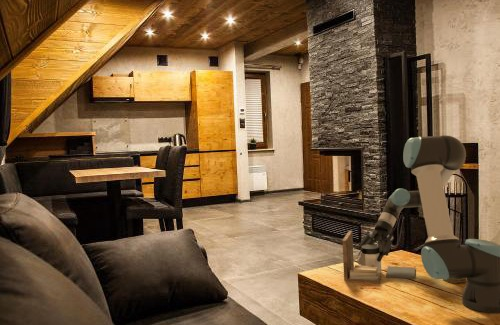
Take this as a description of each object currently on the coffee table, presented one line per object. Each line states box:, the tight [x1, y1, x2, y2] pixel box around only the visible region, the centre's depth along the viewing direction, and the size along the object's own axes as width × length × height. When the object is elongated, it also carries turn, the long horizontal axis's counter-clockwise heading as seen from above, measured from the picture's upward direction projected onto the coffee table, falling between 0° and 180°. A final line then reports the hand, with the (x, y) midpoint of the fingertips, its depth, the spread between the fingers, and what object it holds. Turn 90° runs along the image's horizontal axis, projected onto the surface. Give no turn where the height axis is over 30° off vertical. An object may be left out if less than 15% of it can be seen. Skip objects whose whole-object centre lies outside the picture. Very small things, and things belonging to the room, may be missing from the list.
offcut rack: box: [341, 230, 382, 284], centre depth 194 cm, size 20×15×18 cm
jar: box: [359, 244, 382, 273], centre depth 198 cm, size 9×8×12 cm
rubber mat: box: [385, 265, 416, 280], centre depth 194 cm, size 14×12×1 cm
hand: (366, 264), depth 196 cm, fingers closed on jar, 8 cm apart
